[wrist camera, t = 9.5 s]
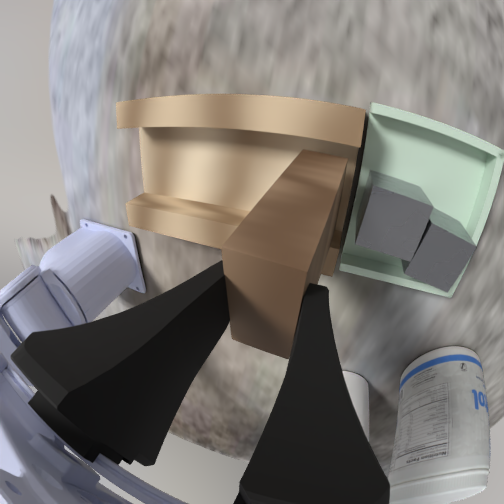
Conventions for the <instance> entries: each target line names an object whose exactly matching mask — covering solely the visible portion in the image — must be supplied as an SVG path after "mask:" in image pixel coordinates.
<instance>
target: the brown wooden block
mask: <svg viewBox="0 0 504 504" xmlns="http://www.w3.org/2000/svg"><path fill="white" fill-rule="evenodd" d="M347 162H348V158H344V157H339V156H335V155H330V154H325V153H320V152H315V151H310V150H305V149H303V150H302V151H301V152H300V153H299V154H298V156H297V157H296V158H295V159H294V160H293V161H292V163H291V164H290V165H289V166H288V167H287V168H286V170H285V171H284V172H283V173H282V174H281V175H280V177H279V178H278V179H277V180H276V181H275V183H274V184H273V185H272V186H271V187H270V188H269V190H268V191H267V192H266V193H265V194H264V196H263V197H262V198H261V199H260V200H259V202H258V203H257V204H256V205H255V206H254V208H253V209H252V210H251V211H250V212H249V214H248V215H247V216H246V217H245V218H244V220H243V221H242V222H241V223H240V225H239V226H238V227H237V228H236V229H235V231H234V232H233V233H232V234H231V236H230V237H229V238H228V239H227V240H226V242H225V243H224V244H223V245H222V247H221V250H222V259H223V269H224V275H225V281H226V290H227V298H228V307H229V315H230V328H231V335H232V339H233V340H236V341H238V342H241V343H244V344H246V345H249V346H252V347H254V348H257V349H260V350H263V351H265V352H268V353H271V354H274V355H277V356H280V357H283V358H286V359H289V357H290V354H291V349H292V345H293V341H294V337H295V333H296V329H297V325H298V321H299V317H300V312H301V308H302V304H303V299H304V295H305V292H306V289H307V287H308V285H309V283H313V284H318V281H319V278H320V275H321V272H322V269H323V266H324V263H325V260H326V257H327V254H328V251H329V248H330V245H331V242H332V238H333V235H334V231H335V227H336V222H337V217H338V212H339V207H340V202H341V197H342V191H343V186H344V180H345V174H346V168H347Z"/></svg>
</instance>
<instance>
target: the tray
mask: <svg viewBox="0 0 504 504" xmlns="http://www.w3.org/2000/svg"><path fill="white" fill-rule="evenodd" d="M503 162H504V150H502V149H500V148H498V147H496V146H494V145H492V144H490V143H488V142H486V141H484V140H482V139H480V138H478V137H475V136H473V135H471V134H468V133H466V132H464V131H461V130H459V129H456V128H454V127H451V126H449V125H446V124H443V123H441V122H438V121H435V120H432V119H429V118H426V117H423V116H420V115H417V114H414V113H411V112H407V111H404V110H400V109H397V108H393V107H389V106H385V105H381V104H377V103H373V102H372V103H370V111H369V119H368V127H367V134H366V140H365V147H364V153H363V159H362V165H361V170H360V175H359V181H358V186H357V191H356V196H355V200H354V205H353V210H352V214H351V219H350V223H349V227H348V231H347V235H346V239H345V243H344V247H343V251H342V255H341V261H340V267H339V270H340V271H344V272H348V273H352V274H356V275H360V276H364V277H368V278H372V279H376V280H381V281H385V282H389V283H393V284H397V285H401V286H405V287H409V288H413V289H417V290H421V291H425V292H429V293H433V294H437V295H441V296H445V297H449V298H451V297H452V295H453V293H454V291H455V289H456V287H457V286H458V284H459V282H460V280H461V278H462V276H463V274H464V272H465V270H466V268H467V266H468V263H469V261H470V259H471V258H470V259H469V261H468V263H467V264H466V266H465V267H464V269H463V271H462V272H461V274H460V275H459V277H458V278H457V280H456V281H455V283H454V284H453V286H452V287H451V288H450V290H449V291H448V293H447V292H445V291H443V290H440V289H438V288H436V287H433V286H431V285H429V284H427V283H424V282H422V281H420V280H417V279H415V278H413V277H410V276H408V275H405V274H404V272H403V267H402V261H401V259H400V258H397V257H394V256H391V255H388V254H385V253H381V252H378V251H375V250H372V249H369V248H365V247H362V246H359V245H356V244H355V233H356V217H357V214H358V211H359V207H360V204H361V201H362V197H363V193H364V190H365V186H366V183H367V179H368V175H369V171H370V170H373V171H376V172H380V173H383V174H386V175H389V176H392V177H395V178H398V179H401V180H403V181H406V182H409V183H412V184H414V185H417V186H420V187H421V188H422V190H423V191H424V193H425V194H426V196H427V197H428V199H429V200H430V202H431V203H432V205H433V206H434V208H436V209H438V210H439V211H441V212H443V213H445V214H447V215H449V216H451V217H453V218H454V219H456V220H458V221H460V222H461V224H462V225H463V227H464V228H465V230H466V231H467V233H468V234H469V236H470V237H471V239H472V240H473V242H474V243H475V245H477V243H478V241H479V238H480V236H481V233H482V231H483V228H484V225H485V223H486V220H487V217H488V214H489V211H490V208H491V205H492V202H493V199H494V196H495V193H496V189H497V186H498V182H499V178H500V174H501V170H502V166H503ZM472 255H473V254H472ZM471 257H472V256H471Z"/></svg>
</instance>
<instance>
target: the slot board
mask: <svg viewBox="0 0 504 504" xmlns="http://www.w3.org/2000/svg"><path fill="white" fill-rule="evenodd" d="M365 112H366V110H365V109H361V108H356V107H351V106H346V105H340V104H335V103H329V102H322V101H315V100H308V99H300V98H291V97H280V96H267V95H248V94H196V95H177V96H164V97H154V98H145V99H137V100H130V101H123V102H117V103H116V113H117V129H121V128H139V134H140V150H141V163H142V174H143V184H144V193H143V194H141V195H139V196H138V197H136V198H134V199H132V200H131V201H129V202H127V203H126V210H127V216H128V222H129V226H132V227H136V228H140V229H144V230H148V231H152V232H156V233H159V234H163V235H167V236H171V237H175V238H179V239H183V240H187V241H191V242H195V243H199V244H203V245H207V246H211V247H215V248H219V249H221V247H222V245H223V244H224V243H225V242H226V240H227V239H228V238H229V237H230V236H231V234H232V233H233V232H234V231H235V229H236V228H237V227H238V226H239V225H240V223H241V222H242V221H243V220H244V218H245V217H246V216H247V215H248V214H249V212H250V211H251V210H252V209H253V208H254V206H255V205H256V204H257V203H258V202H259V200H260V199H261V198H262V197H263V196H264V194H265V193H266V192H267V191H268V190H269V188H270V187H271V186H272V185H273V184H274V183H275V181H276V180H277V179H278V178H279V177H280V175H281V174H282V173H283V172H284V171H285V170H286V168H287V167H288V166H289V165H290V164H291V163H292V161H293V160H294V159H295V158H296V157H297V156H298V154H299V153H300V152H301V151H302V150H303V149H305V150H310V151H315V152H320V153H325V154H330V155H335V156H339V157H344V158H348V162H347V168H346V174H345V180H344V186H343V191H342V197H341V202H340V207H339V212H338V217H337V222H336V227H335V231H334V235H333V238H332V242H331V245H330V248H329V251H328V254H327V257H326V260H325V263H324V266H323V269H322V272H321V274H323V275H327V276H331V277H332V276H333V273H334V269H335V265H336V261H337V257H338V254H339V250H340V243H341V237H342V230H343V226H344V222H345V217H346V212H347V208H348V203H349V198H350V193H351V188H352V183H353V177H354V172H355V166H356V160H357V154H358V148H359V147H361V141H362V134H363V127H364V119H365Z"/></svg>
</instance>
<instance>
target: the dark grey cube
mask: <svg viewBox="0 0 504 504" xmlns="http://www.w3.org/2000/svg"><path fill="white" fill-rule="evenodd" d="M476 248H477V247H476V245H475V243H474V242H473V240H472V239H471V237H470V236H469V234H468V233H467V231H466V230H465V228H464V227H463V225H462V224H461V222H460V221H458V220H456V219H454V218H453V217H451V216H449V215H447V214H445V213H443V212H441V211H439V210H438V209H436V208H434V207H433V210H432V212H431V215H430V218H429V220H428V223H427V225H426V228H425V230H424V233H423V235H422V237H421V240H420V242H419V244H418V247H417V249H416V251H415V253H414V256H413V258H412V260H411V262H409V261H406V260H403V259H401V261H402V267H403V272H404V274H405V275H408V276H410V277H413V278H415V279H417V280H420V281H422V282H424V283H427V284H429V285H431V286H433V287H436V288H438V289H440V290H443V291H445V292H447V293H448V291H449V290H450V288H451V287H452V286H453V284H454V283H455V281H456V280H457V278H458V277H459V275H460V274H461V272H462V271H463V269H464V267H465V266H466V264H467V263H468V261H469V259H470V258H471V256H472V254H473V253H474V251H475V249H476Z"/></svg>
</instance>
